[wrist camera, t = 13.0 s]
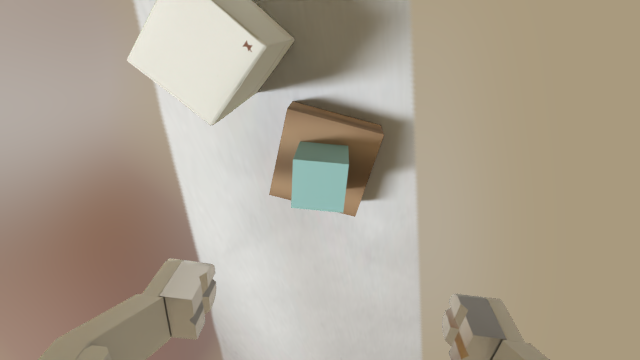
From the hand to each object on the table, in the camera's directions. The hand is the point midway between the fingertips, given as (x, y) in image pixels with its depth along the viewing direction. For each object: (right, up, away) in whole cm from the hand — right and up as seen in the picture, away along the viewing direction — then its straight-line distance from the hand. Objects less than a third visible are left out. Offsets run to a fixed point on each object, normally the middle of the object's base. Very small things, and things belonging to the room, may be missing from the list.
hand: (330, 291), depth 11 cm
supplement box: (-8, +18, +22) cm, 29 cm away
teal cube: (0, +5, +23) cm, 24 cm away
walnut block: (0, +7, +27) cm, 28 cm away
